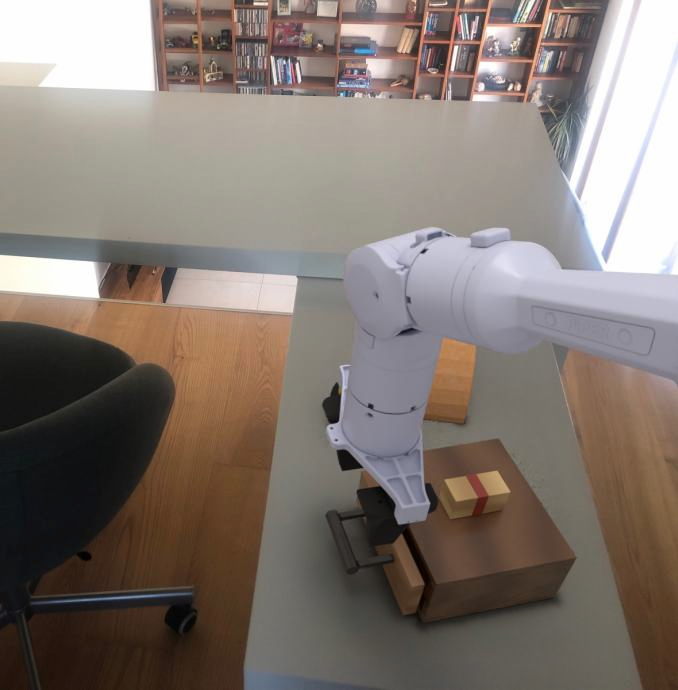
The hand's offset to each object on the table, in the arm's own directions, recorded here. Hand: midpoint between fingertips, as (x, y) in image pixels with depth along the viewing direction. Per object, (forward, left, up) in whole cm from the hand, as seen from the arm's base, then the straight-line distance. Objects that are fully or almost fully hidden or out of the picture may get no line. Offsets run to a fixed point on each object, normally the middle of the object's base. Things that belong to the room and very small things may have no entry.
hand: (365, 502), depth 58 cm
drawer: (-3, -5, -9) cm, 10 cm away
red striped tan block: (-5, -9, -3) cm, 11 cm away
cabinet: (-5, -9, -10) cm, 14 cm away
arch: (+12, -29, -10) cm, 33 cm away
